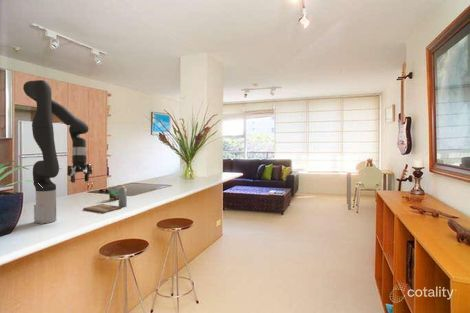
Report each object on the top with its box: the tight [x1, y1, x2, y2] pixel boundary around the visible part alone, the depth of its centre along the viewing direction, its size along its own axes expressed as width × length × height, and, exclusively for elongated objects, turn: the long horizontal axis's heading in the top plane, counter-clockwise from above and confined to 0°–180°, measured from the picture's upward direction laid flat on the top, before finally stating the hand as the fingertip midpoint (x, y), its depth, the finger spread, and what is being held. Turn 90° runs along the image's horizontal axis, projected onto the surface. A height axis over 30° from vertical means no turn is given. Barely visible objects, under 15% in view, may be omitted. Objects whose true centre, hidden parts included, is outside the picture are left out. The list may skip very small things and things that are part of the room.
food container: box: [108, 184, 122, 202], centre depth 211 cm, size 12×6×10 cm, turn 168°
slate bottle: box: [118, 185, 128, 208], centre depth 189 cm, size 5×5×14 cm
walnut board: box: [82, 203, 122, 214], centre depth 180 cm, size 14×18×1 cm
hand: (79, 182), depth 166 cm, fingers open, 8 cm apart
